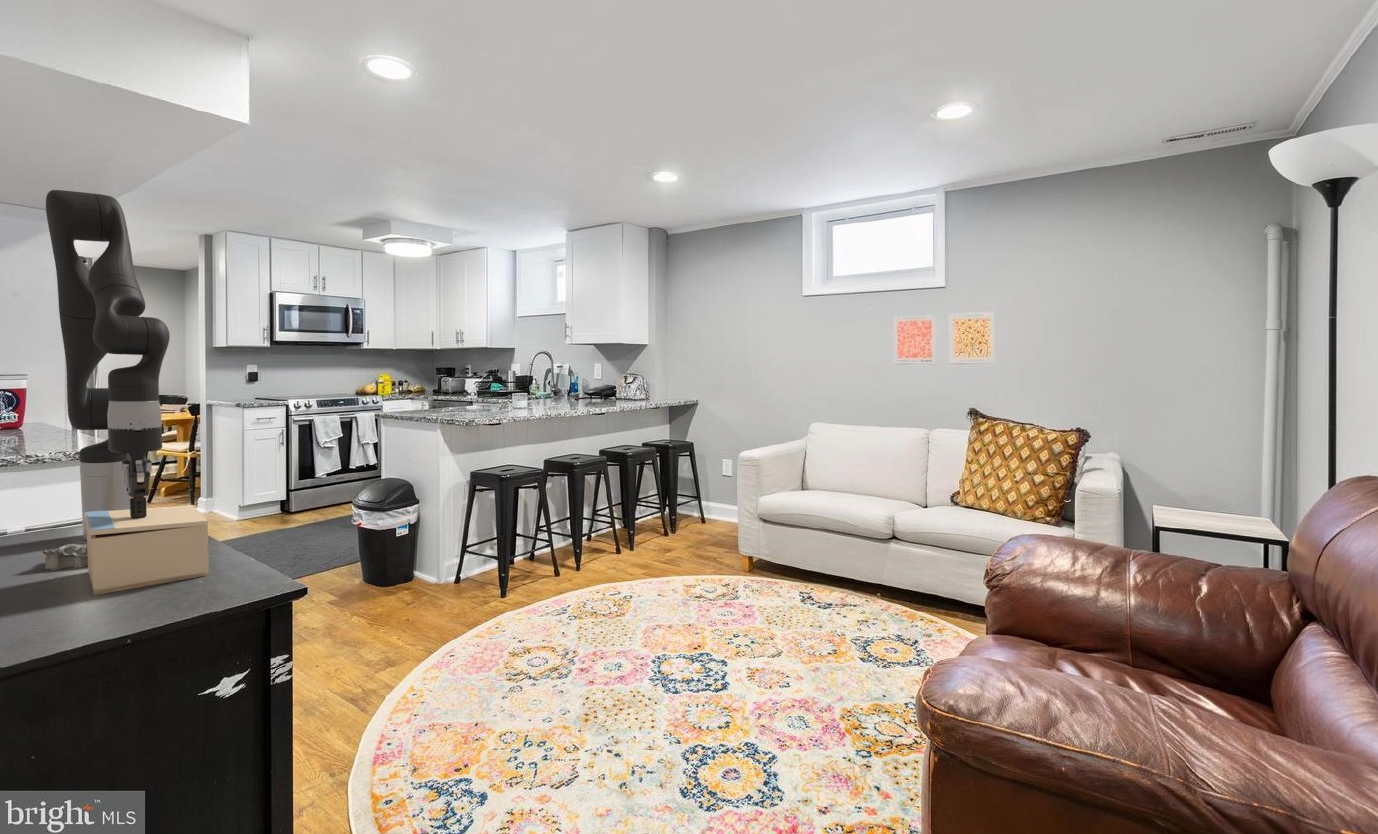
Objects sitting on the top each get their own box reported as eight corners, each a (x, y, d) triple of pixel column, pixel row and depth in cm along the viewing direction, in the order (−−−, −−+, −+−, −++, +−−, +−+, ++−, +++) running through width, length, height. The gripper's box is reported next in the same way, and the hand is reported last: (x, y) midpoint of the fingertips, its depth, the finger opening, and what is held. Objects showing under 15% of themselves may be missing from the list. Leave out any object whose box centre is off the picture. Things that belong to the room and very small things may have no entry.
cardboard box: (88, 571, 121) (86, 520, 120) (194, 555, 132) (192, 509, 131) (93, 595, 110) (91, 539, 109) (209, 575, 121) (207, 524, 120)
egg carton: (39, 572, 120) (37, 551, 120) (58, 560, 127) (57, 540, 127) (111, 566, 125) (110, 546, 124) (126, 555, 132) (125, 536, 131)
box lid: (84, 516, 120) (84, 512, 120) (192, 508, 131) (192, 504, 131) (89, 535, 108) (89, 530, 108) (207, 524, 120) (207, 520, 120)
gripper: (104, 423, 120) (108, 514, 121) (110, 429, 110) (114, 527, 112) (156, 421, 125) (159, 508, 126) (166, 427, 116) (169, 521, 117)
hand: (138, 517), depth 119 cm, fingers closed
